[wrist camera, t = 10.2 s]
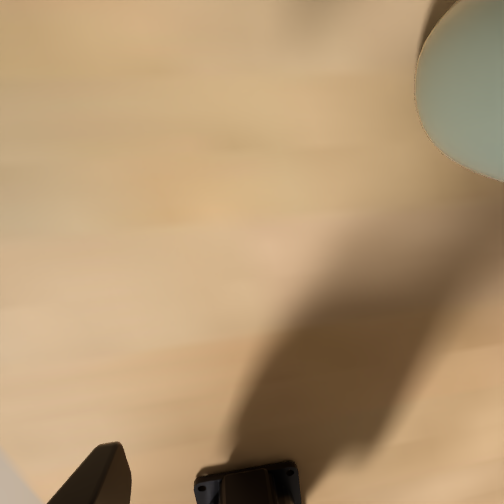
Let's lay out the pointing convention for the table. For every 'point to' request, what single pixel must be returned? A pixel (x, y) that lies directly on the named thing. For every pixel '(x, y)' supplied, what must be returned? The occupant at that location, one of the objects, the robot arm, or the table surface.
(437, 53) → the cup
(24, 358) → the table surface
